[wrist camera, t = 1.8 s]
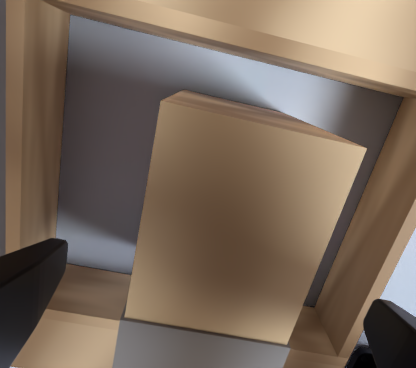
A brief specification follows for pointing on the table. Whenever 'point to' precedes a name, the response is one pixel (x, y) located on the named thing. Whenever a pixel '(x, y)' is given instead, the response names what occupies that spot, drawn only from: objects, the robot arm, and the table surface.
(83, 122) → the table surface
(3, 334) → the robot arm
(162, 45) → the table surface
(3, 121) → the mat
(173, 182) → the box
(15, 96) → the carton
